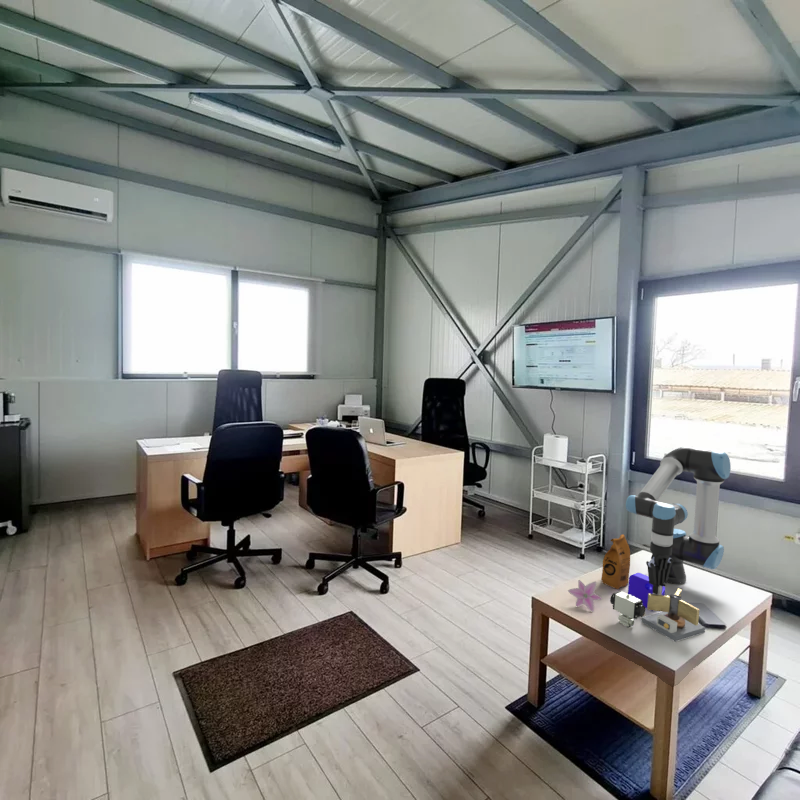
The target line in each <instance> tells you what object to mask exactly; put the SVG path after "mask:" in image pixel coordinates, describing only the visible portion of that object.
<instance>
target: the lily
mask: <svg viewBox="0 0 800 800" xmlns="http://www.w3.org/2000/svg"><path fill="white" fill-rule="evenodd" d="M577 583H578V585H577V586H578V587H575V588H569V589H568V590H567V591H568V594H570V595H572V596H573V597H575V598H576V601H575V607H576V606H577V607H576V608H578V607H580V606H583V605H585V607H586V608H587V609H588V610H589V611H590V612H591V611H592V612H591V613H594V611H595V602H596V601H601V600H603V598H602V597H601V596H600V595H598V594H597V593H595V592H596V587H597V581H592V582H589V583H588V584H586V585H585V583H584V582H583V581H582V580H581V579H578V581H577Z"/></svg>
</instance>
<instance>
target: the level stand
mask: <svg viewBox="0 0 800 800" xmlns="http://www.w3.org/2000/svg"><path fill="white" fill-rule="evenodd" d="M665 614H668V612H662V611H658V612H656V613H652V614H648V615H644V616H643V617H641V623H642V624H644V625H646V626H648V627H649V628H651V629H652V630H654V631H656V632H657V633H659V634H661V635H663V636H665V637H666V638H667V639H670V640H672V641H673V642H678V641H682V640H685V639H688V638H692V637H694V636H699V635H701V634H704V633H705V632H706V626H703V625H701V624H699V623H698V625H694V624H692V623H690V622H689V621H687V620H685V619H684V620H685V627H684V628H677V622H675V621H674V620H672V619H670V618H668V617H666V616H664V615H665Z"/></svg>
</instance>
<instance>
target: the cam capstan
mask: <svg viewBox="0 0 800 800" xmlns="http://www.w3.org/2000/svg"><path fill="white" fill-rule="evenodd" d="M646 609H647V610H648V611H651V610H653V611H652V612H668V614H665V615H664V616H666V617H668V618H670V619H672V620H674V621H675V622H677V628H684V627H685V620H687V621H689V622H690V623H692V624H694V625H698V624H699V620H700V619H699V618H700V608H697V607H696V606H694V605H692V604H691V603H688V602H686V601H685V600H682V588H677V590H676V591H675V593H674V594H673V593H671V594H669V595H666V594H665V595H657V594H648V603H647V608H646ZM684 619H685V620H684Z"/></svg>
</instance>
